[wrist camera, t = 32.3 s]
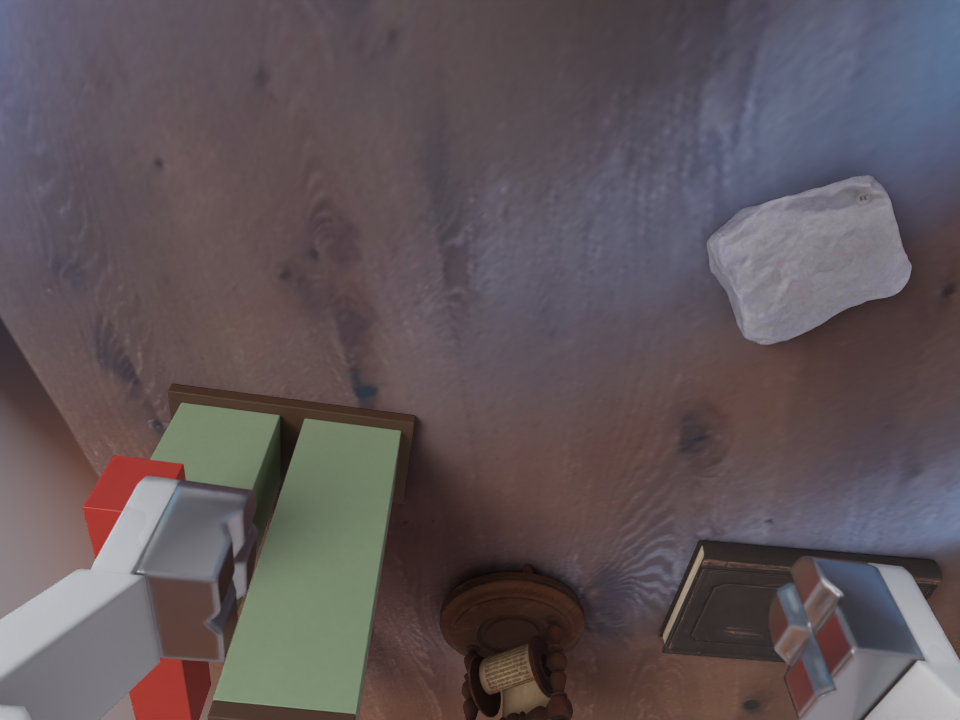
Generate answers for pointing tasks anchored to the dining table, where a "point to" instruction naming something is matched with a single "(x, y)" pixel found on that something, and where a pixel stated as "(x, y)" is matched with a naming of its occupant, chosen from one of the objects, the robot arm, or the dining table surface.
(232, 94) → the dining table surface
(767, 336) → the stone block
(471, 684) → the scroll
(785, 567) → the hardcover book
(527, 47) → the dining table surface
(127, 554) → the robot arm
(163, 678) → the red bar
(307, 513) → the step shelf
